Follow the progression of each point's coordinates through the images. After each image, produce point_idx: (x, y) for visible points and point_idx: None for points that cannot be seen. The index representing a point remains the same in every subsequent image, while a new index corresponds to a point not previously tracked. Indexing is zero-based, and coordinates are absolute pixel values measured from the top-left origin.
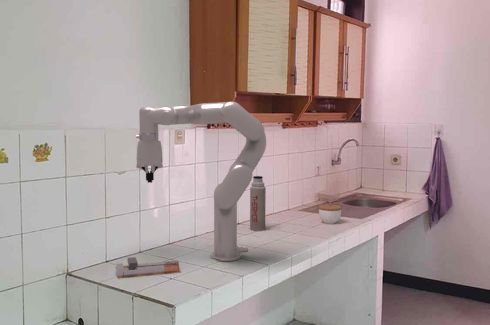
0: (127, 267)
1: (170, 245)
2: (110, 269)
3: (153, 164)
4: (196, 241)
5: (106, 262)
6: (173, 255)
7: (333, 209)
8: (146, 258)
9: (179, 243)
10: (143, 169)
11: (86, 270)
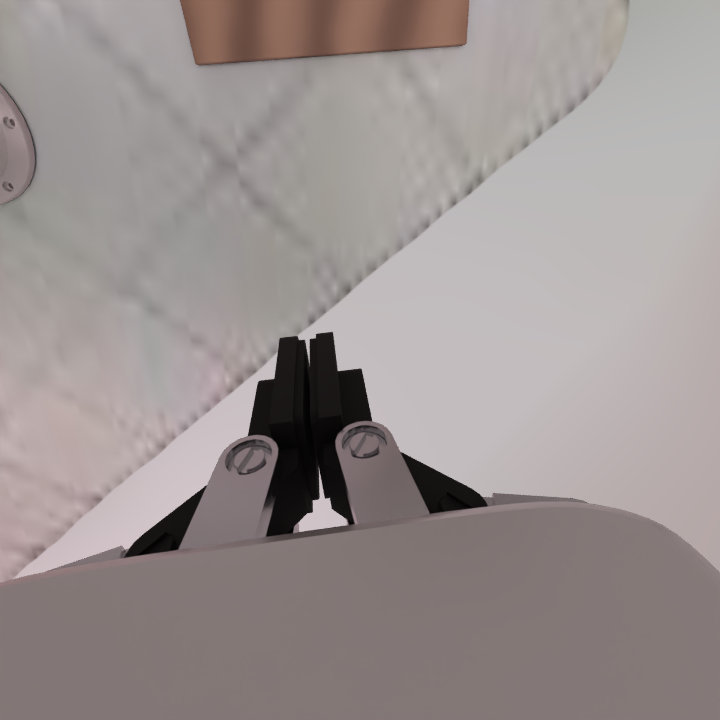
0: (417, 4)
1: (243, 356)
2: (481, 55)
3: (180, 567)
4: (151, 390)
5: (480, 175)
6: (219, 220)
7: None
8: (328, 199)
9: (212, 375)
10: (441, 482)
11: (571, 68)
